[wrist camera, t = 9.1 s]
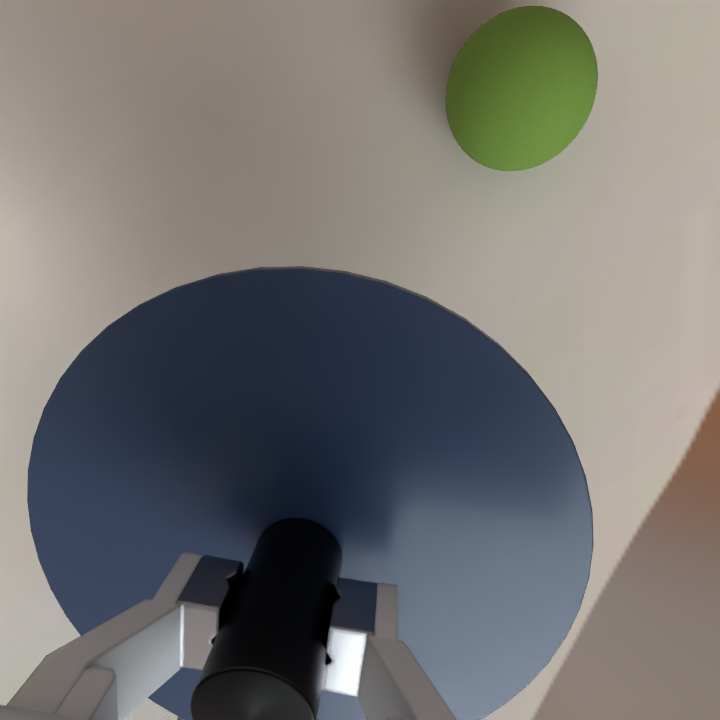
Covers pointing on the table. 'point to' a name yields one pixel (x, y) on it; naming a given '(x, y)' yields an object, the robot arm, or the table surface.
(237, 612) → the pot lid
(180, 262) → the table surface
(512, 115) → the guava
